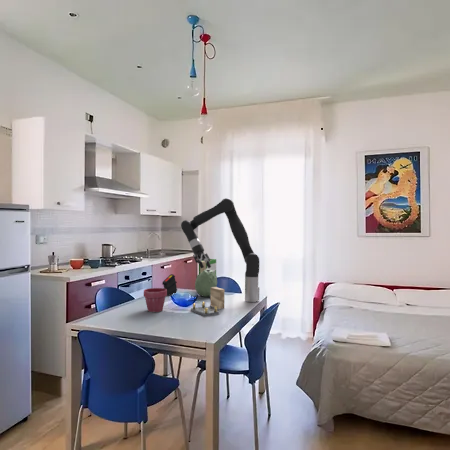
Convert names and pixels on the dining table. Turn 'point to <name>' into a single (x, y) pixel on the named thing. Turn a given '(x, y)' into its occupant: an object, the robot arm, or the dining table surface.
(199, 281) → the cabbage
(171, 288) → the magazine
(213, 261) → the hardback book
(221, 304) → the panel
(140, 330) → the dining table surface
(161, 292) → the plant pot
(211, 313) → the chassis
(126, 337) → the dining table surface
